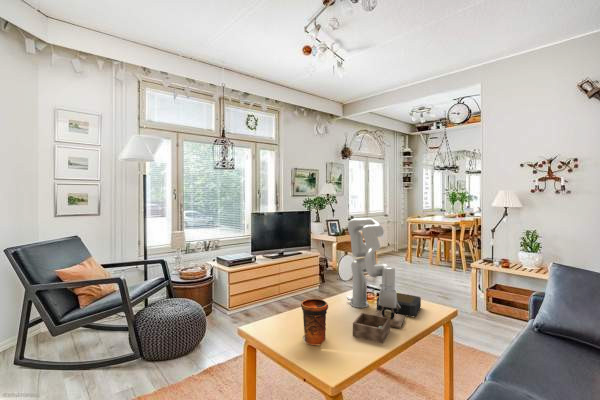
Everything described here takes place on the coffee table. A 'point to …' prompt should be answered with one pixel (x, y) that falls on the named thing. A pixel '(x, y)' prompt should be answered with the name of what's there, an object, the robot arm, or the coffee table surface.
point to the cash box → (406, 304)
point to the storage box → (371, 327)
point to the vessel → (314, 320)
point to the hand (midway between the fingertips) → (388, 317)
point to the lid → (396, 320)
